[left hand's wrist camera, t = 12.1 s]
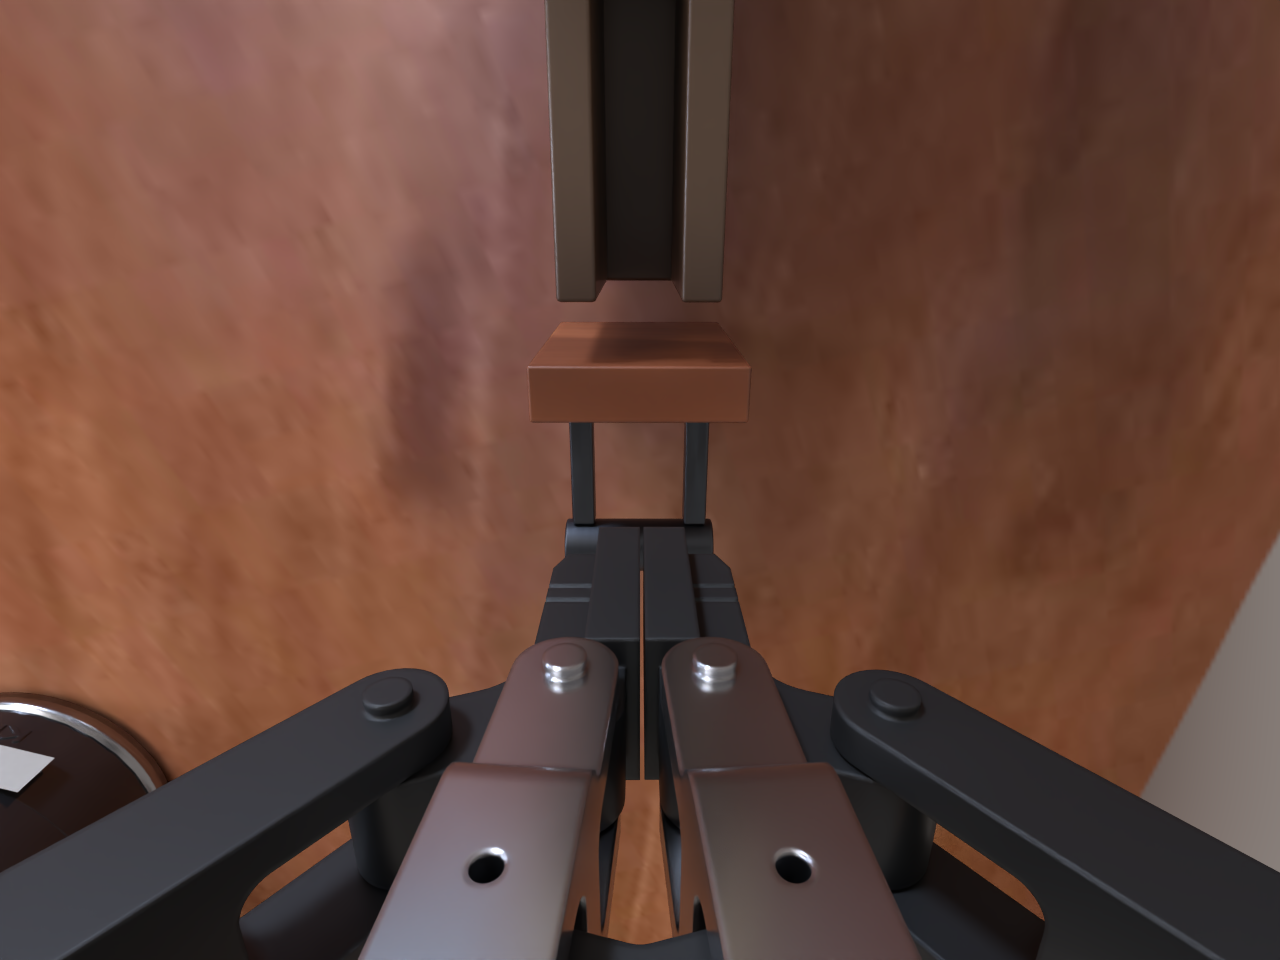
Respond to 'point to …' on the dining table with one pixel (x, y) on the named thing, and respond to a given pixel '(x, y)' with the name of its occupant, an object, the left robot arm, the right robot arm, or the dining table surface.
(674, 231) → the drawer
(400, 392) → the dining table surface
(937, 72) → the dining table surface
